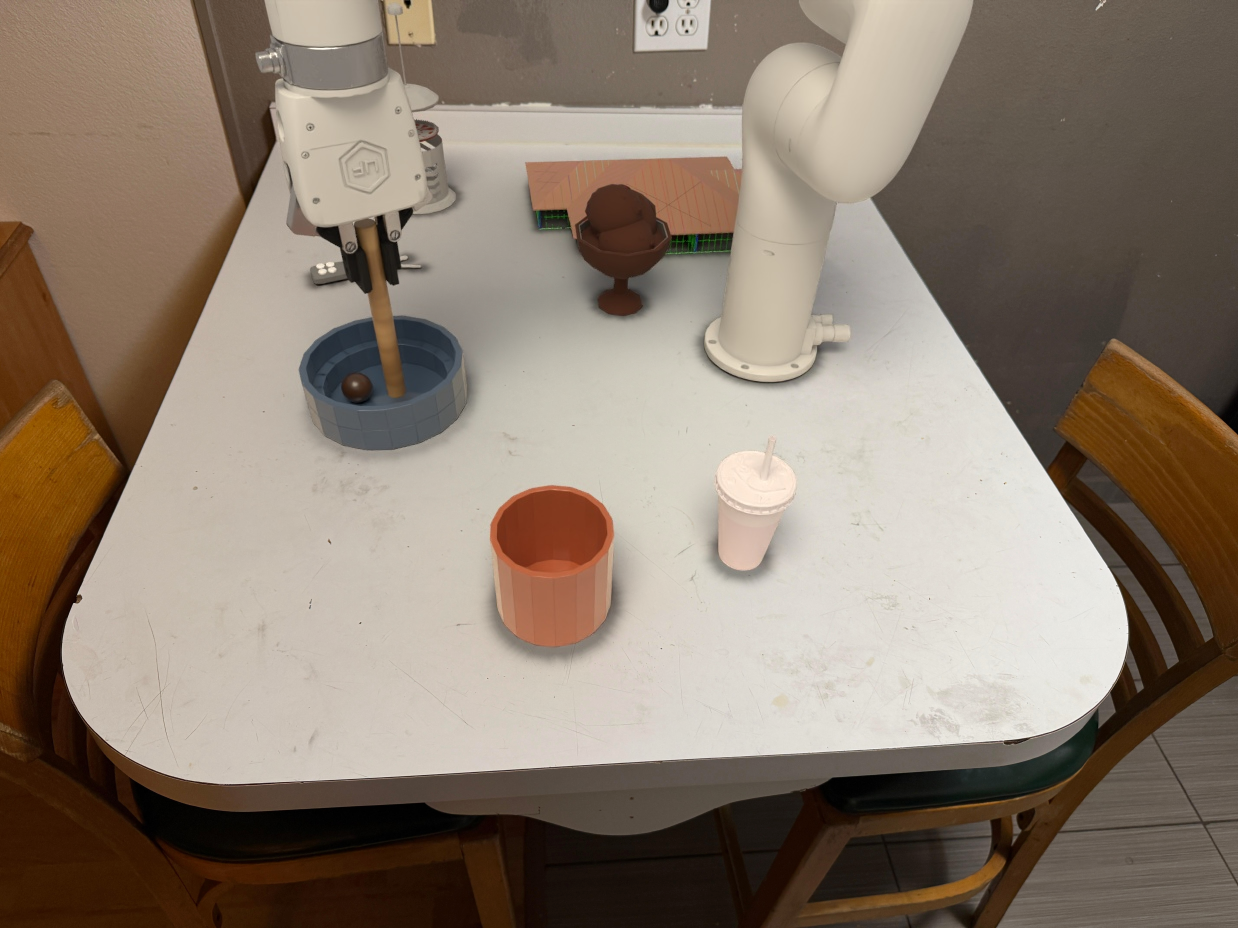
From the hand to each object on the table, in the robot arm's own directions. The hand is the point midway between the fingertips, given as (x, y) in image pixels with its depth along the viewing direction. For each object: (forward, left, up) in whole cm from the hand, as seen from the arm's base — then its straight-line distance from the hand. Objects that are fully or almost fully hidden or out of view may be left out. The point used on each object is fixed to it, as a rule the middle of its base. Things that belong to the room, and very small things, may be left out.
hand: (375, 280), depth 72 cm
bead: (+4, -2, -15) cm, 15 cm away
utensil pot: (-15, +24, -15) cm, 32 cm away
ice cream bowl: (-24, -20, -15) cm, 35 cm away
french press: (+3, -48, -15) cm, 50 cm away
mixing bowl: (+1, -2, -15) cm, 15 cm away
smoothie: (-31, +20, -15) cm, 40 cm away
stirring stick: (0, 0, -13) cm, 13 cm away
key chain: (+7, -28, -15) cm, 32 cm away
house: (-30, -42, -15) cm, 54 cm away
